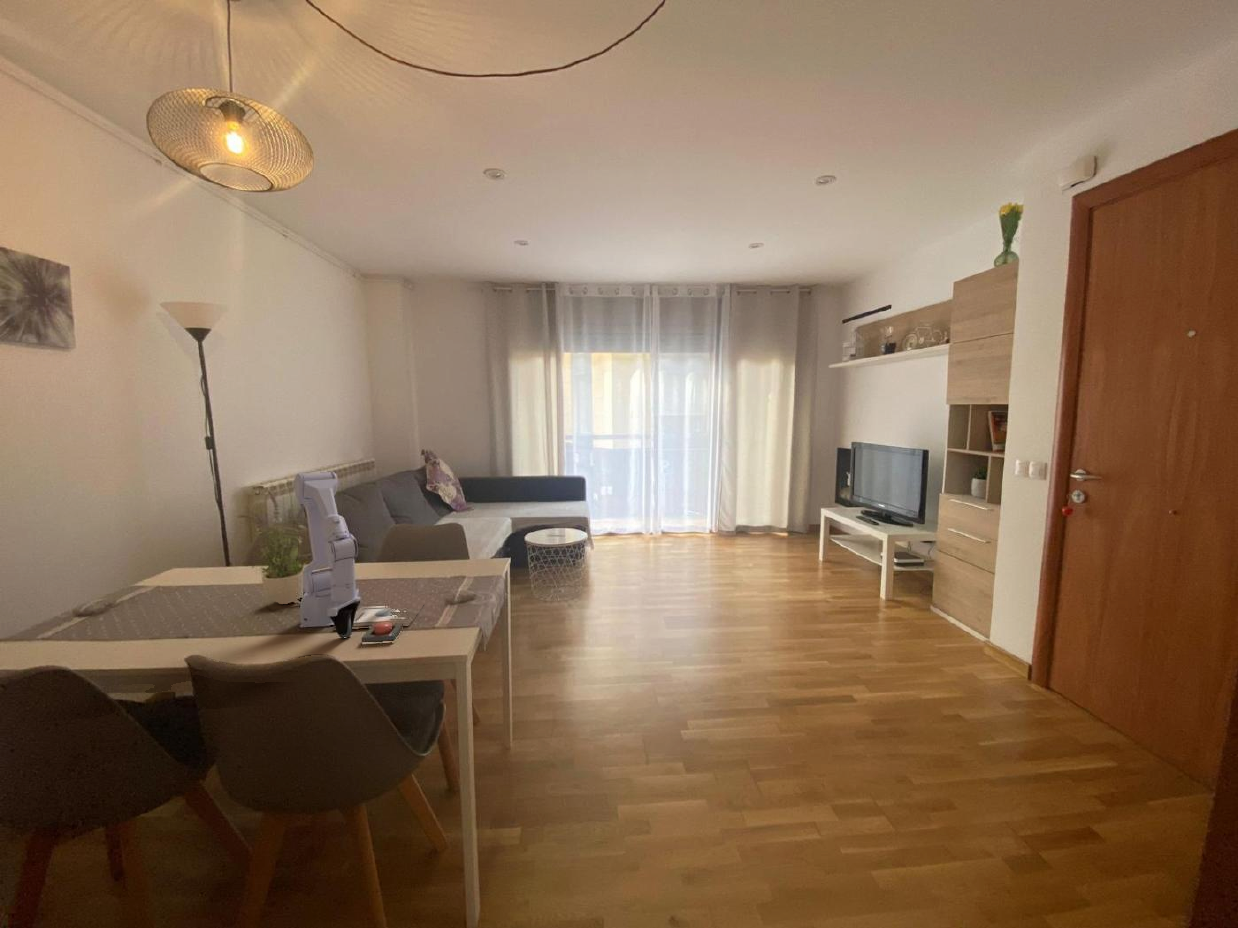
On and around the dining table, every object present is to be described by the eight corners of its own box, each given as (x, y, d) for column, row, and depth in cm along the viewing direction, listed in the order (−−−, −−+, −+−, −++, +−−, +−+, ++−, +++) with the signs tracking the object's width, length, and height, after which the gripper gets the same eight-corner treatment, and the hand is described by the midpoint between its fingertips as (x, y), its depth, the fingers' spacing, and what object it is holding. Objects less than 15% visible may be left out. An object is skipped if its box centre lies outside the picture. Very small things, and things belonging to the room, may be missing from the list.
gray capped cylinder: (337, 639, 123) (335, 617, 122) (342, 633, 126) (341, 612, 125) (349, 638, 123) (348, 616, 123) (353, 633, 126) (352, 612, 126)
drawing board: (334, 630, 129) (334, 626, 129) (357, 608, 145) (357, 604, 145) (409, 626, 132) (409, 622, 132) (424, 604, 148) (424, 601, 148)
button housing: (361, 644, 121) (361, 637, 121) (373, 631, 129) (373, 624, 128) (394, 643, 122) (393, 635, 122) (403, 629, 130) (403, 622, 130)
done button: (371, 635, 123) (371, 628, 122) (377, 628, 127) (377, 621, 127) (388, 634, 123) (388, 627, 123) (394, 627, 128) (394, 620, 127)
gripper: (347, 591, 117) (349, 642, 118) (369, 573, 131) (371, 619, 132) (317, 592, 116) (319, 644, 117) (342, 574, 130) (344, 620, 131)
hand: (345, 631), depth 125 cm, fingers closed on gray capped cylinder, 3 cm apart
